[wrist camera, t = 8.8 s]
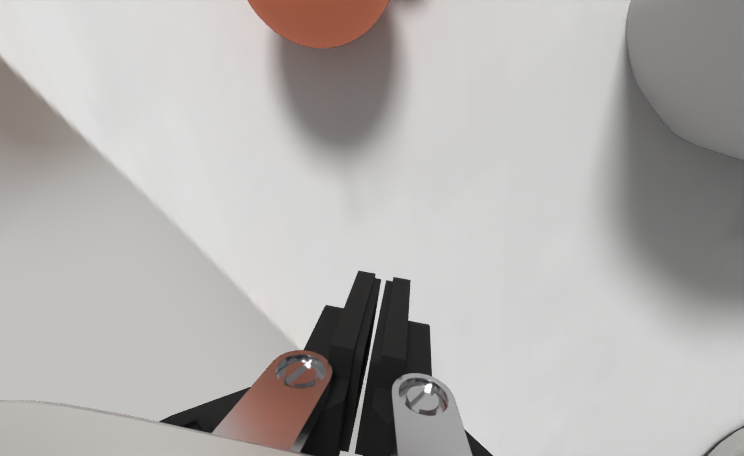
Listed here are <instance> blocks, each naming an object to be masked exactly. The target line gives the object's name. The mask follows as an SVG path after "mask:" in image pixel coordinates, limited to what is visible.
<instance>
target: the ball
mask: <svg viewBox="0 0 744 456" xmlns="http://www.w3.org/2000/svg"><path fill="white" fill-rule="evenodd" d="M248 2H249V4H250V5H251V7H252V8H253V9H254V11H255V12H256V13H257V15H258V16H259V17H260V18H261V19H262V20H263V21H264V22H265V24H267V25H268V26H269V27H270V28H271V29H272V30H274V31H275V32H276V33H278V34H279V35H281V36H282V37H284V38H286V39H288V40H290V41H292V42H294V43H296V44H299V45H302V46H306V47H311V48H333V47H337V46H341V45H344V44H347V43H349V42H352V41H354V40H355V39H357V38H358V37H360V36H361V35H363V34H364V33H365V32H367V31H368V30H369V29H370V28H371V27H372V26H373V25H374V24H375V22H376V21H377V20H378V19H379V17H380V16H381V15H382V13H383V11H384V10H385V8H386V6H387V4H388V2H389V0H248Z"/></svg>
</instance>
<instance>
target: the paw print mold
mask: <svg viewBox="0 0 744 456" xmlns="http://www.w3.org/2000/svg"><path fill="white" fill-rule="evenodd" d="M626 41H627V49H628V55H629V60H630V64H631V68H632V72H633V75H634V78H635V81H636V83H637V85H638V87H639V89H640V90H641V92H642V94H643V95H644V97H645V98H646V100H647V101H648V103H649V104H650V105H651V107H652V108H653V109H654V111H655V112H656V113H657V115H658V116H659V117H660V118H661V119H662V121H663V122H664V123H665V124H666V125H667V126H668V128H669V129H670V130H671V131H672V132H673V133H674V134H676V135H677V136H678V137H680V138H682V139H684V140H686V141H688V142H690V143H693V144H695V145H698V146H700V147H703V148H706V149H709V150H712V151H715V152H718V153H721V154H724V155H728V156H731V157H735V158H739V159H743V160H744V0H631V2H630V5H629V9H628V14H627V21H626Z"/></svg>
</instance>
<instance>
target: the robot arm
mask: <svg viewBox="0 0 744 456" xmlns="http://www.w3.org/2000/svg"><path fill="white" fill-rule="evenodd" d="M380 283H381V279H376V278H375V274H374V273H368V272H363V271H358V273H357V276H356V279H355V281H354V284H353V286H352V289H351V292H350V294H349V297H348V299H347V302H346V304H345V307H344V308H339V307H333V306H328V305H326V306H325V307H324V309H323V311H322V314H321V316H320V318H319V320H318V322H317V324H316V326H315V328H314V330H313V332H312V334H311V336H310V338H309V340H308V342H307V344H306V346H305V348H304V350H296V351H291V352H287V353H285V354H283V355H280V356H279V357H277V358H276V359H275V360H274V361H273V362H272V363H271V364H270V366H269V367H268V368H267V369H266V370H265V371H264V372H263V374H262V375H261V376H260V377H259V378H258V380H257V381H256V382H255V383H254V384H253V385H252V387H249V388H246V389H243V390H241V391H238V392H235V393H232V394H230V395H227V396H224V397H221V398H219V399H216V400H213V401H210V402H208V403H205V404H202V405H199V406H197V407H194V408H191V409H188V410H186V411H183V412H180V413H177V414H175V415H172V416H170V417H168V418H166V419H163V420H161V421H159V422H156V421H152V420H147V419H143V418H138V417H133V416H129V415H124V414H119V413H114V412H108V411H102V410H96V409H91V408H85V407H80V406H74V405H69V404H62V403H53V402H43V401H10V400H9V401H8V400H5V401H4V400H2V401H1V400H0V456H339V454H340V450H341V451H346V452H348V451H349V446H350V442H351V437H352V432H353V427H354V422H355V418H356V413H357V408H358V404H359V399H360V394H361V390H362V385H363V380H364V375H365V371H366V366H367V361H368V356H369V350H370V344H371V338H372V332H373V326H374V320H375V314H376V308H377V301H378V295H379V289H380ZM409 296H410V280H407V279H401V278H396V277H394V278H393V281H387V280H386V284H385V289H384V294H383V299H382V304H381V309H380V314H379V319H378V324H377V329H376V334H375V339H374V344H373V349H372V355H371V360H370V366H369V372H368V378H367V384H366V390H365V396H364V402H363V408H362V414H361V420H360V426H359V432H358V438H357V444H356V450H355V454H359V455H363V456H493V455H492V454H491V453H489V452H488V451H487V450H486V449H485V448H484V447H483V446H482V445H481V444H480V443H479V442H478V441H476V440H475V439H474V438H473V437H472V436H471V435H470V434H469V433H468V432H467V431H466V430H465V429H464V427H463V424H462V420H461V417H460V414H459V411H458V407H457V404H456V401H455V398H454V396H453V394H452V392H451V391H450V389H449V388H448V387H447V386H446V385H445V384H444V383H442V382H441V381H439V380H438V379H436V378H434V377H432V369H431V345H430V326H429V325H428V324H422V323H417V322H412V321H408V313H409ZM707 456H744V428H742V429H740V430H738V431H736V432H735V433H733V434H732V435H730V436H729V437H728V438H726V439H725V440H724V441H722V442H721V443H719V444H718V445H717V446H716V447H715V448H714V449H713V450H712V451H711V452H710V453H709V454H708V455H707Z"/></svg>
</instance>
